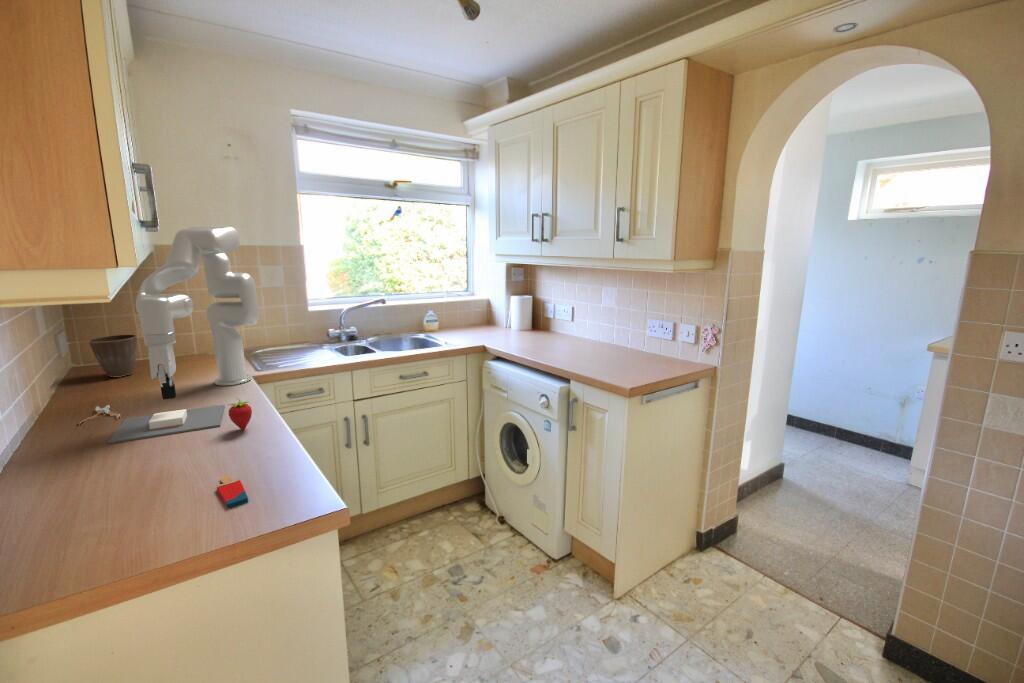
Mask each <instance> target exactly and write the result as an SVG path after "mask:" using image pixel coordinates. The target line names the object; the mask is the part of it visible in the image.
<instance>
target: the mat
mask: <svg viewBox="0 0 1024 683" xmlns="http://www.w3.org/2000/svg"><path fill="white" fill-rule="evenodd" d="M225 408H226V405H225V404H219V405H212V406H204V407H199V408H189V409H186V411H187V418H186V421H185V423H184V425H181V426H174V427H167V428H161V429H154V430H150V427H149V421H150V419H151V418H152V416H153V415H154V413H152V414H148V415H147V414H145V415H140V416H132V417H127V418H125V420H124V421H123V422H122V423H121V424H120V426H119V427H118V429H117V430H115V432H114V434H113V435H112V436H111V437H110V438H109V440H108V441H107V444H108V445H110V444H109V443H112V444H116V442H118V443H122V442H124V441H125V442H129V441H130V442H131V441H136V440H142V439H148V438H149V439H150V438H155V437H161V436H168V435H169V436H170V435H173V434H175V435H176V434H180V433H181V434H182V433H187V432H188V433H189V432H191V431H193V432H194V431H200V430H207V429H212V428H219V427H221V425H222V420H223V416H224V412H225Z"/></svg>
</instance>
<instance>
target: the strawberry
mask: <svg viewBox="0 0 1024 683" xmlns="http://www.w3.org/2000/svg"><path fill="white" fill-rule="evenodd" d="M234 398H236V399H237V400H238V402H237V403H236V402H234V403H229V404H227V406H230V408H229V410H228V418H229V419H230V421H231V422H232V423H233V424H234V425H236V427H238V428H239V429H240V430H242V431H244V430H245V429H246V427H247V426H248V424H249V422H250V420H251V418H252V415H253V414H252V412H253V409H252V407H251V406H250V404H248V401H242V400H240V399H239V398H237V397H234Z"/></svg>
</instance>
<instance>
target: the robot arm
mask: <svg viewBox="0 0 1024 683" xmlns="http://www.w3.org/2000/svg"><path fill="white" fill-rule="evenodd" d="M240 243H241V237H240V234H239V232H238V231H237V229H236V228H234V227H232V226H225V225H224V226H222V225H221V226H217V225H216V226H215V225H213V226H211V225H210V226H207V225H205V226H204V225H202V226H200V225H199V226H190V227H187V228H183V229H180V230H178V231H177V232H176V233H175V235H174V239H173V241H172V244H171V248H170V249H169V254H168V256H167V259H166V262H165V263H164V264H163V265H162V266H160V267H158V268H157V269H156V270H155V271H154V272H152V273H150V274H149V275H148V276H147V277H146V278H144V280H143V282H142V283H141V285H140V287H139V290H138V293H137V296H136V300H135V310H136V312H137V314H138V315H139V319H140V325H141V331H142V332H141V333H142V337H143V341H144V342H143V343H144V346H145V347H148V361H149V362H148V363H149V370H150V377H151V379H152V380H156V379H157V377H158V380H159V383H160V384H159V385H160V391H161V397H162V400H170V399H171V400H172V399H175V398H176V397H177V391H176V386H175V385H176V384H175V380H174V374H175V373H176V370H177V365H176V357H175V351H174V346H173V345H174V344H176V343H177V339H176V338H177V337H176V331H175V324H174V319H183V318H186V317H189V316H190V315H191V314H192V313H193V311H194V308H195V307H194V306H195V305H194V302H193V299H192V298H191V297H190V296H188V295H187V294H184V293H162V292H163V291H164V290H166V289H168V288H169V287H171V286H174V285H176V284H178V283H182V282H185V281H187V280H190V279H191V278H193V277H194V276H196V275H197V274H198V270H199V268H200V267H199V266H200V263H201V262H202V265H203V269H204V270H203V271H204V276H205V282H206V288H207V292H208V294H209V296H210V297H211V298H215V299H240V301H237V300H236V301H232V300H231V301H228V300H227V301H215V302H213V303H210V304H209V305H208V306H207V308H206V311H205V313H206V318H207V320H208V324H209V326H210V330H211V334H212V340H213V346H214V353H215V359H216V368H217V375H218V377H217V378H216V379H214V384H215V385H217V386H222V387H223V386H235V385H241V384H245V383H248V382H250V381H251V380H252V375H250V374H247V366H246V360H245V351H244V344H243V343H244V342H243V336H242V335H241V333H240V332H239V330H238V329H237V328H236V327H251V326H254V325H255V326H256V325H257V324H258V323H259V320H260V308H259V302H258V293H257V286H256V283H255V280H254V277H253V276H251V274H249V273H246V272H232V269H231V268H232V267H231V261H230V258H229V256H227V253H230V252H234V251H236V250H237V249H238V248H239V246H240ZM249 380H250V381H249ZM247 381H248V382H247ZM244 382H245V383H244ZM240 383H241V384H240Z"/></svg>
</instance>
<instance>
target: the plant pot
mask: <svg viewBox="0 0 1024 683" xmlns="http://www.w3.org/2000/svg"><path fill="white" fill-rule="evenodd" d="M137 338H138V336H137V335H135V334H117V335H108V336H102V337H96V338H92V339H90V340H88V343H89V345H90V348H91V350H92V352H93V354H94V356H95V358H96V360H97V362H98V364H99V365H100V366H101V369H102V370H103V372H104V373H105V374H106V375H107V376H112V377H113V376H122V375H127V374H130V373H132V372H134V369H135V365H136V364H135V363H136V357H137V350H138V349H137V346H138V343H137V342H138V339H137ZM132 374H133V373H132Z"/></svg>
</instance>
